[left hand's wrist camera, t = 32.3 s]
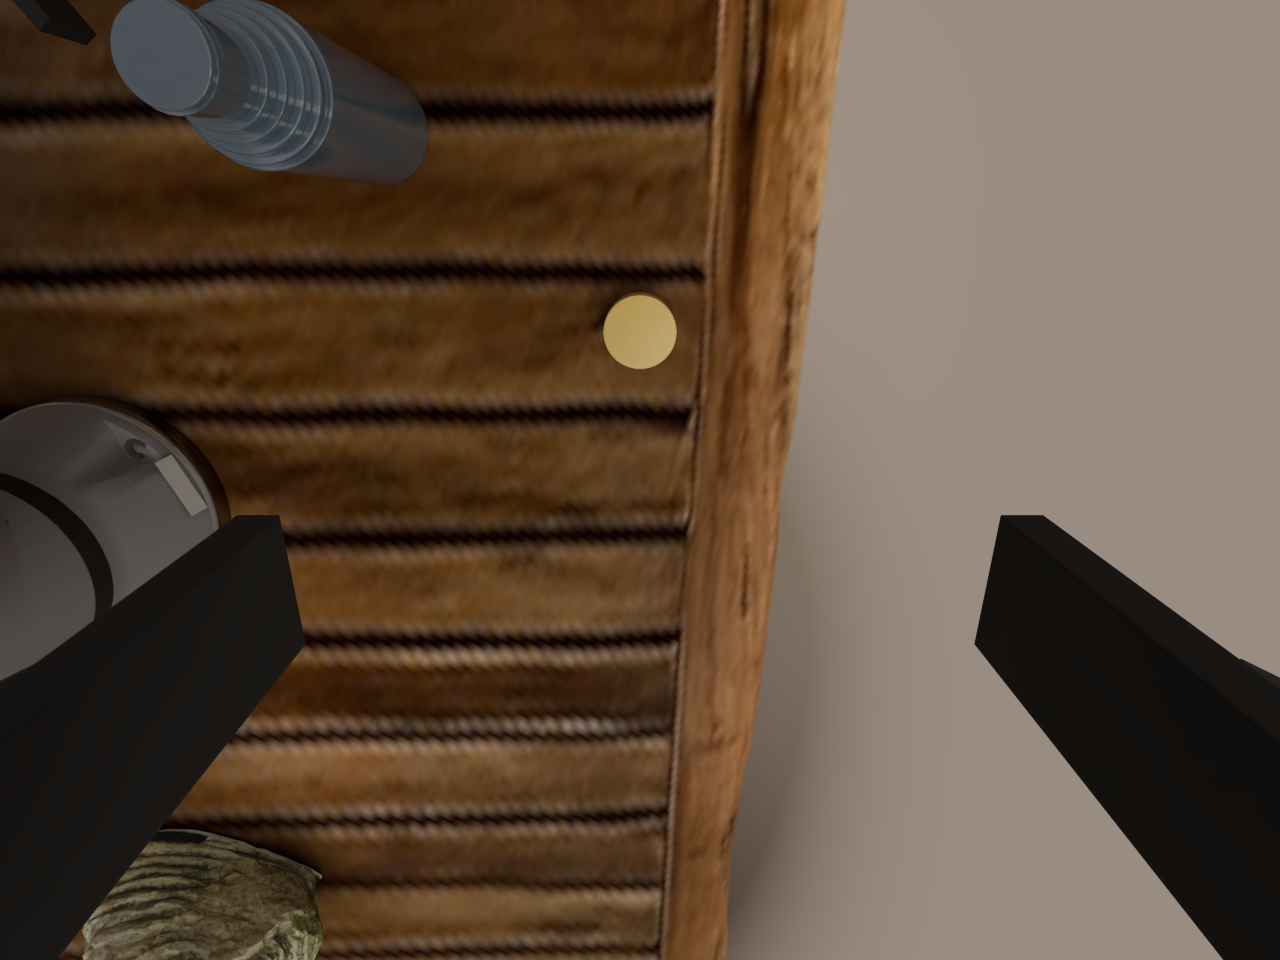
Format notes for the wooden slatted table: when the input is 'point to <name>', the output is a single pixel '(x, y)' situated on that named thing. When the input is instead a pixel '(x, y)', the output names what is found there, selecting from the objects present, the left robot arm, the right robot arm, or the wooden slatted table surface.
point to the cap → (639, 330)
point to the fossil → (207, 904)
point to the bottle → (270, 90)
